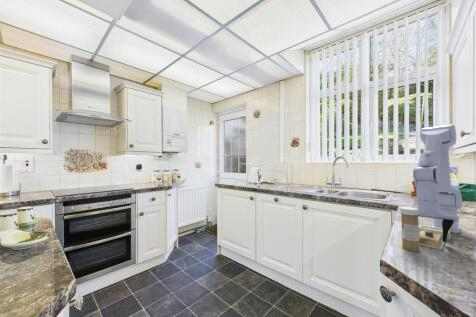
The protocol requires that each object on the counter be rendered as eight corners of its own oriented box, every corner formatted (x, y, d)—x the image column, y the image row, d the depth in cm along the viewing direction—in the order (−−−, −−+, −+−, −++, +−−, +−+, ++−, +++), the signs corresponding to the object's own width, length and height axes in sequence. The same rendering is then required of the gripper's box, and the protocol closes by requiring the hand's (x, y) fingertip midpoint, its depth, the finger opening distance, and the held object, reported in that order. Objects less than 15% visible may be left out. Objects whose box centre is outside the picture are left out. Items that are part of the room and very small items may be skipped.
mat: (419, 236, 76) (419, 235, 76) (445, 241, 71) (445, 240, 71) (413, 243, 69) (413, 242, 69) (441, 249, 64) (441, 248, 64)
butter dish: (419, 232, 81) (419, 224, 81) (450, 237, 74) (450, 229, 74) (417, 234, 78) (416, 227, 78) (449, 241, 71) (448, 232, 71)
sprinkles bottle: (403, 245, 68) (402, 206, 69) (421, 249, 65) (419, 208, 65) (400, 248, 65) (398, 207, 66) (419, 253, 62) (417, 210, 62)
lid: (416, 242, 69) (416, 233, 69) (421, 236, 75) (421, 227, 75) (438, 247, 65) (438, 237, 65) (441, 240, 71) (441, 231, 71)
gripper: (399, 198, 74) (400, 235, 73) (456, 204, 63) (459, 247, 62) (403, 196, 78) (405, 231, 78) (458, 201, 67) (460, 242, 66)
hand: (429, 238), depth 70 cm, fingers open, 7 cm apart
